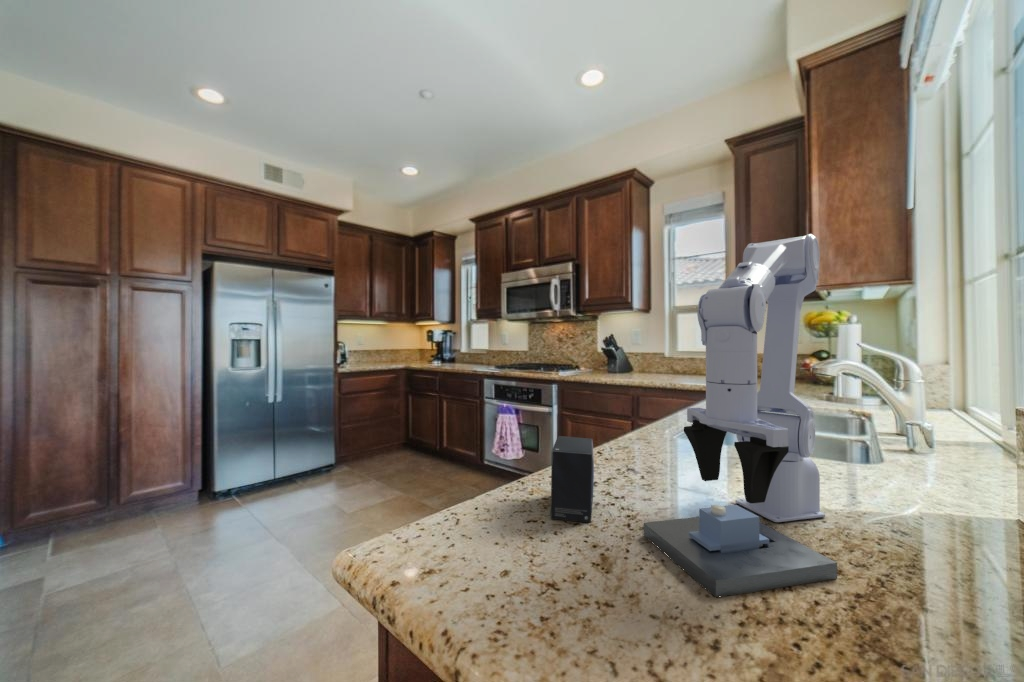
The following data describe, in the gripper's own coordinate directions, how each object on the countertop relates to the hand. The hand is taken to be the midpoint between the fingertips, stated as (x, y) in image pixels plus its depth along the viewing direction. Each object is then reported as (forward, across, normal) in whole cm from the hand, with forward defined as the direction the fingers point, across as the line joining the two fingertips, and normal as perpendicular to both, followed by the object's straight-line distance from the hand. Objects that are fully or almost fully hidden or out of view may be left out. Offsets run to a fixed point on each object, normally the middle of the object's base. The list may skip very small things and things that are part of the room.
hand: (731, 490), depth 51 cm
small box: (+8, -18, -14) cm, 24 cm away
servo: (+8, 0, 0) cm, 8 cm away
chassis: (+8, 0, 0) cm, 8 cm away
